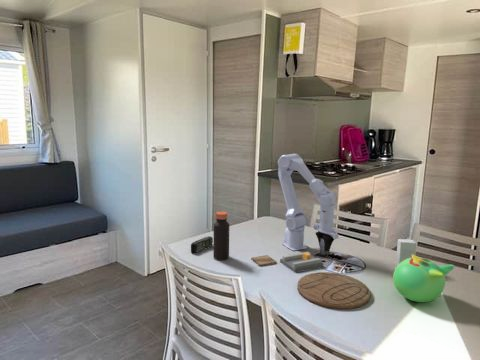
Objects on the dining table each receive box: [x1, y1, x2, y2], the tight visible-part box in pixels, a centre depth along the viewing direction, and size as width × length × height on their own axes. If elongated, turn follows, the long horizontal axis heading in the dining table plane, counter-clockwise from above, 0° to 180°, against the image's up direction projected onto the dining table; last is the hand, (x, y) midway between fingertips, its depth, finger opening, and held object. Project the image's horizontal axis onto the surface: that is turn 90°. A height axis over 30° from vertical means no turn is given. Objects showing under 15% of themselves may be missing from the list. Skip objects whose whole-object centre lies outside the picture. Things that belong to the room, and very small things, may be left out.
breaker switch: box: [302, 251, 312, 260], centre depth 154 cm, size 2×3×2 cm, turn 25°
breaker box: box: [279, 251, 324, 273], centre depth 153 cm, size 14×11×3 cm
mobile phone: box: [190, 236, 214, 254], centre depth 169 cm, size 5×3×15 cm
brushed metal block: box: [319, 238, 331, 256], centre depth 162 cm, size 3×3×7 cm
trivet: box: [297, 271, 371, 311], centre depth 131 cm, size 25×25×2 cm
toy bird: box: [392, 254, 455, 303], centre depth 125 cm, size 18×17×15 cm
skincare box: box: [395, 238, 417, 268], centre depth 150 cm, size 6×4×12 cm
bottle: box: [213, 211, 230, 261], centre depth 158 cm, size 7×7×20 cm
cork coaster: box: [250, 254, 278, 267], centre depth 156 cm, size 8×8×1 cm
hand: (324, 249), depth 163 cm, fingers closed on brushed metal block, 3 cm apart
